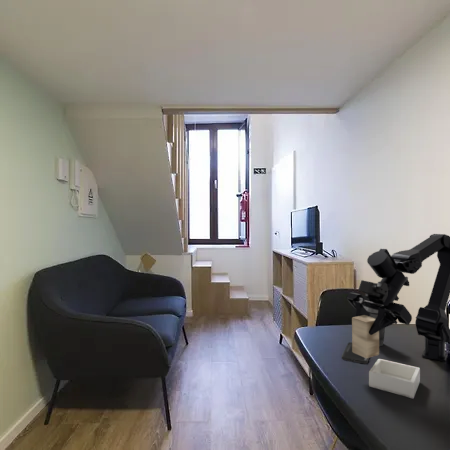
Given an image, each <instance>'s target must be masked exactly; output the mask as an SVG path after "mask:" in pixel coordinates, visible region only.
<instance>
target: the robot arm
mask: <svg viewBox="0 0 450 450" xmlns="http://www.w3.org/2000/svg"><path fill="white" fill-rule="evenodd" d="M435 254H436V256H437V260H438V262H439V267H438V270H437V273H436V277H435V279H434V284H433V286H432V289H431V293H430V296H429V299H428V302H427V305H425V306H420V307H419V308H418V309H417V310H418V311H417V315H416V317H415V323H414V324H415V328H416V332H417V335H418V336H422V337H424V348H423V352H422V353H421V354H422V355H421V357H422V358H426V359H430V360H431V359H432V360H435V361H441V362H446V361H447V358H448V354H447V353H446V343H450V327H449V325H448V323H449V318H448V316H447V312H446V308H447V304H448V301H449V298H450V235H447V234H445V233H443V234H441V233H432V234H430V235H429V237H428V238H426V239H425V240H423V241H421V242H420V243H418V244H416V245H415V246H413V247H412V248H410V249H405V250H400V251H397V252H394V253H392V255H391V254H390V252H389V250H388V249H387V248H380V249H379V250H378V251H374V252H373V253H371V254H370V255H368V257H367V260H366V262H367V265H368V266H369V267H370V268H371V269H372V270H373V272H374V274H376V276H377V277H378V278H381V280H380V281H377V283H376V282H372V281H367V280H363V279H362V280H361V279H360V283H359V287H358V290H357V291H358V292H359V293H356V292H348V294H347V296H346V297H345V299H346V300H347V301H348V303H349V304H350V305H351V306H352V307H353V308H354V309H355V316H354V317H357V316H362V315H366V316H370V314H369V313H368V312H367V310H368V308H371V309H375V310H378V316H377V318H376V319H375V321H374V323H373V325H372V326H371V328H370V330H369V334H370V335H373V334H374V333H376V332H378V331H380V330H382V329H383V328H385V329H386V328H387V327H390V326H392V325H397V324H398V323H400V324H402V325H403V324H404V325H406V326H409V325H410V324H411V322H412V320H413V317H412V314H411V313H410V311H409V310H408V309H407V307H406V306H405V305H404V304H402V303H401V304H400V303H397V302H398V301H399V299H400V297H399V296H398V294H399V293H400V292H401V290H402V288H403V286H406V287H410V281H409V280H408V279H409V277H408V276H406V275H405V274H411V275H413V274H416V273H417V272H418V271H419V270H420V269H421V268H422V266H423V262H424V261H426V260H427V259H428V258H430V257H431V256H433V255H435ZM404 273H405V274H404ZM360 292H362V293H364V294H365V295H364V296H365V297H366V298H367V299H368V300H366V299H365V297H364V296H363V295H362V294H360ZM395 301H396V302H395Z"/></svg>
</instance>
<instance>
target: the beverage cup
mask: <svg viewBox="0 0 450 450" xmlns="http://www.w3.org/2000/svg"><path fill="white" fill-rule="evenodd" d="M367 312H368V313H369V314H370V316H369V317H373V318H377V316H378V310H375V309H371V308H368V310H367ZM385 333H386V327H385V328H383V329H382V330H380V331H379V347H382V346H384V341H385Z"/></svg>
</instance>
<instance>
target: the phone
mask: <svg viewBox="0 0 450 450" xmlns="http://www.w3.org/2000/svg"><path fill="white" fill-rule="evenodd" d="M341 359H342V360H344V361H348V362H354V363H359V364H368V362H369V359H370V358H364V357H362V356H360V355H358V354H355V353H353V352H352V341H351V342H348V343H347V345H346V347H345V348H344V350H343V352H342V354H341Z"/></svg>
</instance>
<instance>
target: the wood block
mask: <svg viewBox="0 0 450 450" xmlns="http://www.w3.org/2000/svg"><path fill="white" fill-rule="evenodd" d="M375 319H376V318H373V317H369V316H366V315H362V316H357V317H355V316H353V317H351V335H352V336H351V339H352V340H351V342H352V352H353V353H355V354H358V355H360V356H362V357H364V358H369V359H370V358H372V357H376V356H379V355H380V346H379V331H378V332H376V333H374V334H373V335H370V334H369V330H370V328H371V326H372V325H373V323H374V321H375Z"/></svg>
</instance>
